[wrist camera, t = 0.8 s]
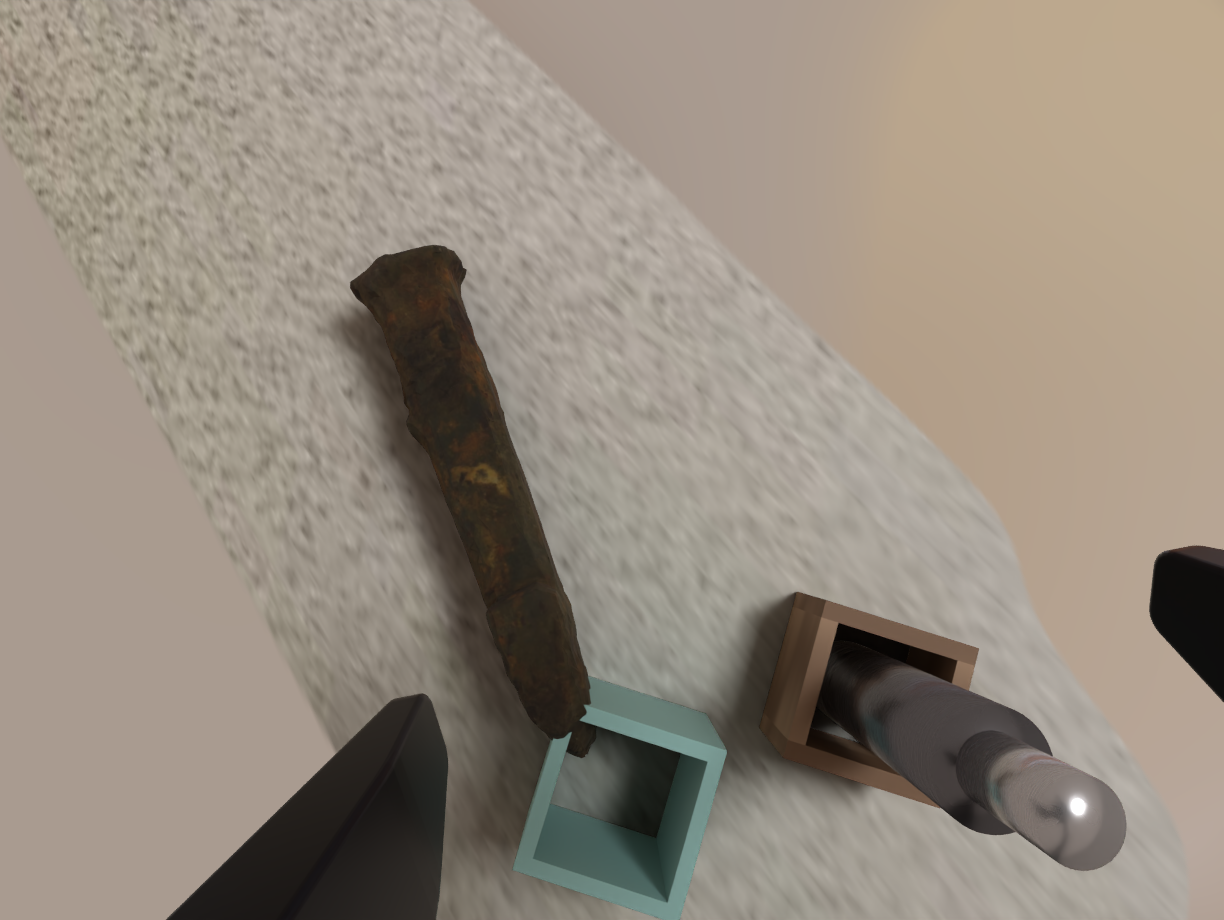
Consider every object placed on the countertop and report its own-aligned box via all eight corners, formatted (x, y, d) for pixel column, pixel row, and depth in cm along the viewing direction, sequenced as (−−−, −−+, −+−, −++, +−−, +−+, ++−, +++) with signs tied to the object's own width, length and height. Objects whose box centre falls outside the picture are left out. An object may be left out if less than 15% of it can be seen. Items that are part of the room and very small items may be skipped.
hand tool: (373, 301, 27) (326, 254, 23) (468, 271, 28) (439, 218, 23) (516, 760, 26) (496, 811, 21) (616, 725, 26) (619, 768, 21)
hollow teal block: (665, 855, 25) (678, 924, 21) (528, 811, 25) (512, 869, 21) (706, 713, 26) (727, 750, 21) (572, 670, 26) (565, 698, 22)
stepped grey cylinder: (872, 730, 26) (1139, 924, 13) (797, 706, 26) (988, 876, 13) (891, 653, 26) (1171, 769, 13) (818, 630, 26) (1024, 722, 13)
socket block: (894, 771, 26) (939, 808, 22) (759, 727, 26) (783, 757, 22) (929, 633, 26) (978, 648, 23) (797, 591, 26) (825, 600, 23)
